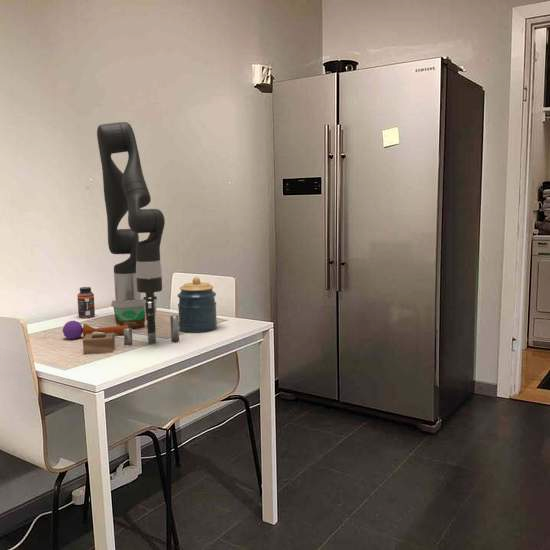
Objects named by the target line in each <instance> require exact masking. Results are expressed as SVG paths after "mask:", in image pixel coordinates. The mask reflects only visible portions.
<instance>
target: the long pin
mask: <svg viewBox="0 0 550 550" xmlns="http://www.w3.org/2000/svg"><path fill="white" fill-rule="evenodd" d="M148 316H153V313H149V314H148ZM156 331H157V330H156V327H155V333H148V332H147V344H148V343H149V345H155V344H156V343H157V336H156V335H157V334H156ZM154 343H155V344H154Z"/></svg>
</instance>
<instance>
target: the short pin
mask: <svg viewBox="0 0 550 550" xmlns="http://www.w3.org/2000/svg"><path fill="white" fill-rule="evenodd" d="M133 342H134V341H133V330H132V328H124V335H123V343H124V346H126V345H129V346H133V345H132V344H133Z"/></svg>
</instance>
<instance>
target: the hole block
mask: <svg viewBox="0 0 550 550" xmlns="http://www.w3.org/2000/svg"><path fill="white" fill-rule="evenodd" d="M114 346H115V347H116V341H115V334H114V332H113V333H101V332H95V333H91V334H86V336H84V338H83V339H82V351H83V355H89V354H90V353H94V354H108V352H109V353H113V352H114V349H115V347H114ZM106 352H107V353H106Z"/></svg>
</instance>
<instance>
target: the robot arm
mask: <svg viewBox="0 0 550 550" xmlns="http://www.w3.org/2000/svg"><path fill="white" fill-rule="evenodd" d="M133 129H134V128H133V127H132V126H131V124H130V123H129V122H126V121H125V122H124V121H121V122H120V121H119V122H111V123H109V122H108V123H103V124H99V125H98V126H97V129H96V139H97V145H98V151H99V157H100V163H101V169H102V170H101V171H102V182H103V183H102V184H103V195H104V196H103V198H104V204H105V211H106V219H107V221H106V222H107V225H106V226H107V243H108V244H107V245H108V249H109V252H110V253H111V254H112V255H130V256H129V257H128V258H127V259H126V260H124V261H122V262H120V263H116V264H115V265H114V266H113V278H114V294H115V295H114V296H115V298H114V299H115V300H114V301H127V300H142V299H143V303H144V308H145V321H146V323H147V324H146V327H147V334H148V333H155V328H156V316H157V315H156V313H157V303H158V297H157V296H155V293H159V292H161V291H162V290H163V275H162V271H163V270H162V263H161V242H162V237H163V233H164V229H165V221H166V220H165V219H166V218H165V217H164V213H163V212H162V210H160V209H157V208H144V207H147V206H148V205H150V204H151V199H152V198H151V194H150V192H149V191H150V190H149V189H148V185H147V183H146V179H145V176H144V173H143V169H142V163H141V158H140V154H139V149H138V144H137V139H136V136H135V132H134V130H133ZM119 153H127V154H128V158H127V159H128V160H127V163H126V166H125V169H124V171H123V172H122V171H121V169H120V168H119V167H118V166H117V164H116V163H115V161H114V160H113V158H112V154H119ZM126 214H128V215H127V224H128V226H129V228H118V227H119V224H120V223H121V221H122V219H123V218H124V216H125V215H126ZM147 233H149V235H148V237H147V238H146V239H144V240H140V238H139V236H140V235H139V234H147ZM142 293H143V294H145V296H143V298H142ZM149 313H153V316H148V314H149Z"/></svg>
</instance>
